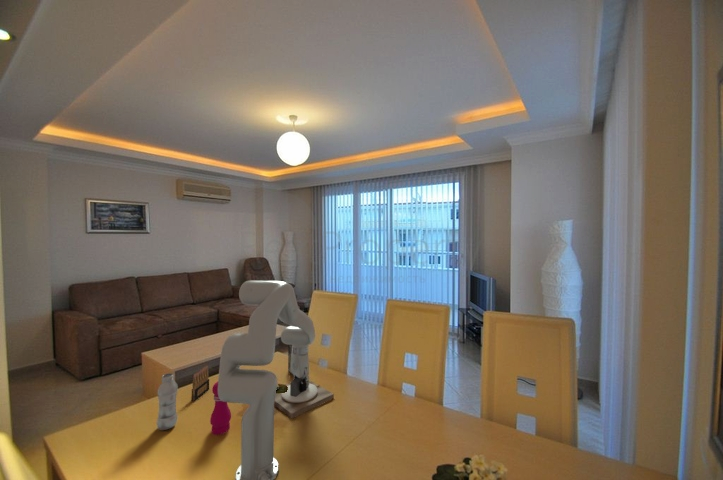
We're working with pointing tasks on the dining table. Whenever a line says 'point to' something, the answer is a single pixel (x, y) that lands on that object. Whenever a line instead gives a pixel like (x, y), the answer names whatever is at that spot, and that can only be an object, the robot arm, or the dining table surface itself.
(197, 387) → the ammunition clip
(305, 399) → the dial
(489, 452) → the dining table surface
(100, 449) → the dining table surface
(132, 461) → the dining table surface
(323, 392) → the dial board
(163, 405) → the plastic bottle
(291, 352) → the coffee box
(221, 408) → the pepper mill
